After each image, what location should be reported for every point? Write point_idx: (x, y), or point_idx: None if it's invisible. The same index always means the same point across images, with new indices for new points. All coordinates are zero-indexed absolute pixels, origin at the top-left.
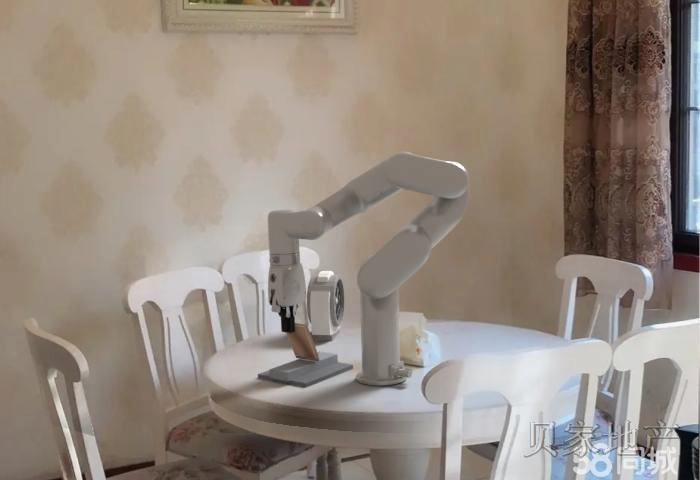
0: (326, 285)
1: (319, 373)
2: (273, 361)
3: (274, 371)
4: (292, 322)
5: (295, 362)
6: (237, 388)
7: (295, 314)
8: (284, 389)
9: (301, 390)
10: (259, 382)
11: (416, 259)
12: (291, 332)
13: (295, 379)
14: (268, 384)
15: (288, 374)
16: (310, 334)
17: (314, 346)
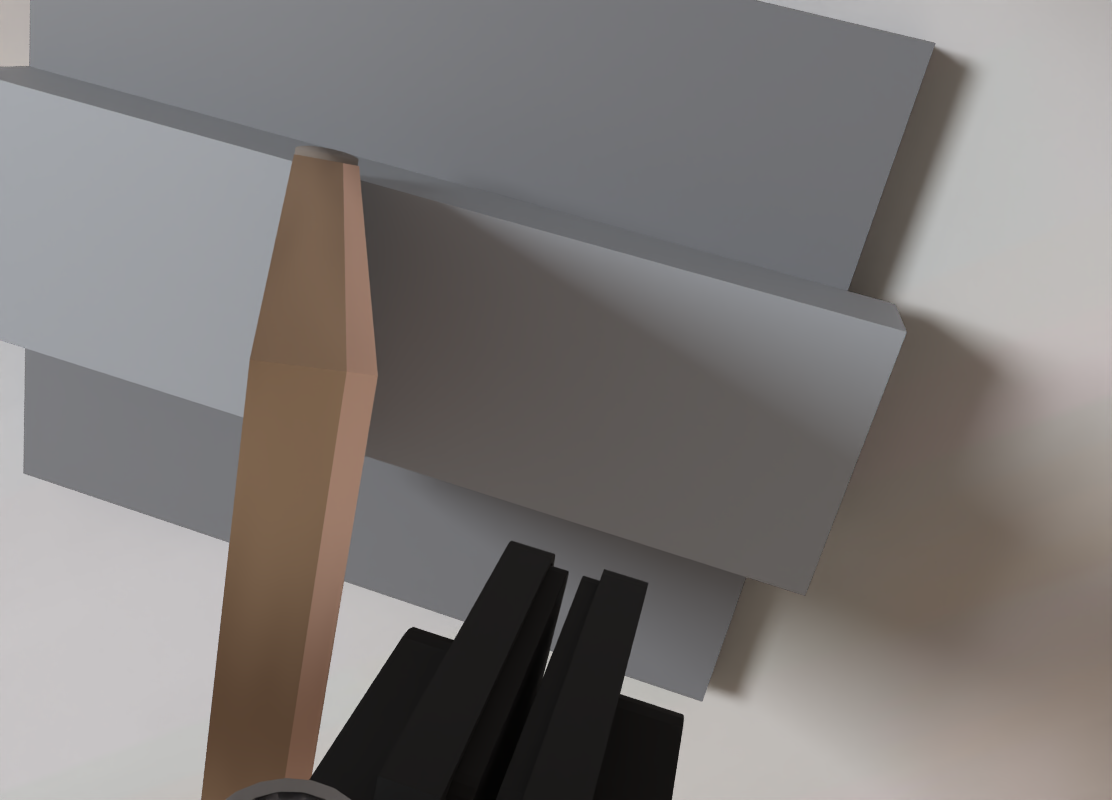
0: None
1: (490, 73)
2: (187, 713)
3: (827, 523)
4: (515, 701)
5: (446, 416)
6: (1093, 746)
7: (266, 798)
8: (1057, 272)
9: (1070, 49)
10: (842, 617)
11: None
12: (632, 578)
13: (798, 252)
14: (894, 510)
15: (892, 321)
16: (275, 264)
17: (297, 196)
